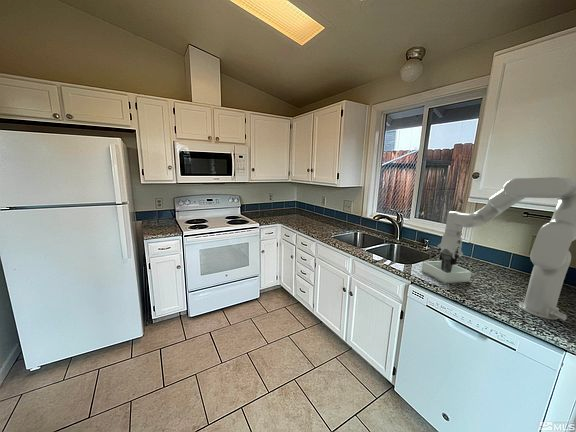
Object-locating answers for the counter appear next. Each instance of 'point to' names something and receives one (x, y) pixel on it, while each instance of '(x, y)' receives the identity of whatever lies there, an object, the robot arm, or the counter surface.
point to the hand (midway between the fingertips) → (447, 261)
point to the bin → (453, 277)
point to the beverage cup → (446, 261)
